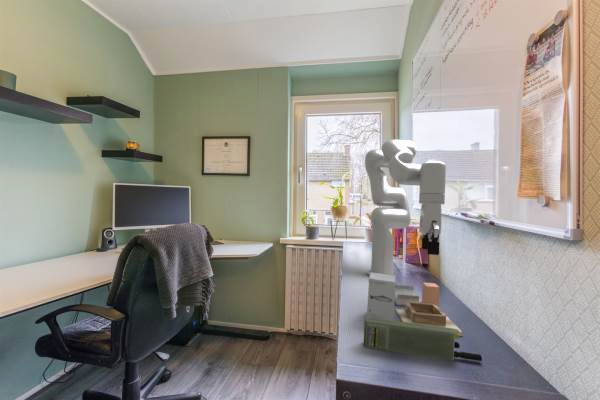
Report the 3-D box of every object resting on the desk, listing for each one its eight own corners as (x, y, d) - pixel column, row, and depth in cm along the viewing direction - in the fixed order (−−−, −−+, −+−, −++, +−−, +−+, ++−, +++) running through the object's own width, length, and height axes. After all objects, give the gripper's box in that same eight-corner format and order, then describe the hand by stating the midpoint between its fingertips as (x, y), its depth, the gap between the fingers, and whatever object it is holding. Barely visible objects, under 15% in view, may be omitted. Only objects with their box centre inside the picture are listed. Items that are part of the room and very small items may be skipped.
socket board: (395, 311, 82) (396, 300, 82) (443, 316, 80) (443, 304, 80) (406, 331, 70) (407, 317, 70) (462, 336, 68) (463, 322, 68)
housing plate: (391, 296, 95) (391, 283, 95) (411, 297, 94) (412, 285, 94) (396, 305, 87) (397, 291, 87) (419, 306, 86) (419, 293, 86)
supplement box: (366, 322, 74) (367, 278, 74) (368, 312, 81) (370, 271, 81) (393, 327, 71) (395, 281, 71) (394, 316, 78) (395, 274, 78)
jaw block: (421, 302, 90) (422, 282, 90) (433, 303, 90) (434, 283, 90) (425, 307, 86) (426, 286, 86) (438, 308, 86) (439, 287, 86)
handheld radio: (363, 341, 64) (477, 358, 59) (363, 349, 61) (484, 368, 56) (364, 315, 64) (479, 329, 59) (364, 321, 61) (486, 338, 55)
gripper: (415, 199, 95) (413, 246, 95) (424, 198, 79) (422, 255, 79) (437, 200, 93) (436, 248, 93) (452, 199, 77) (450, 258, 77)
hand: (429, 251), depth 86 cm, fingers open, 9 cm apart
